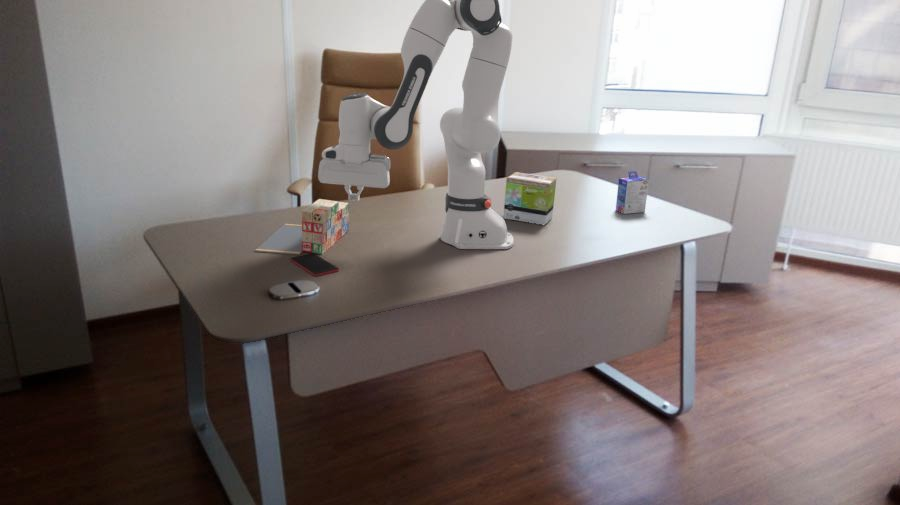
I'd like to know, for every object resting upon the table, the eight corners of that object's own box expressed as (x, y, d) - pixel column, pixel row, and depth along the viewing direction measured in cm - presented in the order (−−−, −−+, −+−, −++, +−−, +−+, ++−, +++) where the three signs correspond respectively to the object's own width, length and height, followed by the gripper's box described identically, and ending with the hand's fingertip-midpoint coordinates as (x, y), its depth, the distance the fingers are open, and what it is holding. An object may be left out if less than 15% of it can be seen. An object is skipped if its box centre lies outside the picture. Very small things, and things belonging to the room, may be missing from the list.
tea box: (502, 219, 220) (505, 177, 215) (511, 212, 229) (514, 171, 224) (545, 226, 215) (549, 182, 210) (553, 218, 224) (557, 176, 219)
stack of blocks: (329, 228, 203) (330, 190, 199) (348, 231, 202) (350, 193, 198) (301, 251, 183) (301, 209, 179) (322, 254, 182) (323, 212, 178)
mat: (325, 227, 205) (325, 226, 204) (299, 255, 181) (299, 253, 181) (285, 224, 206) (284, 223, 206) (254, 251, 182) (254, 250, 182)
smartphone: (312, 252, 182) (340, 269, 171) (313, 255, 182) (340, 272, 172) (288, 258, 178) (315, 275, 167) (288, 261, 178) (315, 278, 167)
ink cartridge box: (635, 208, 240) (641, 169, 235) (645, 212, 235) (651, 173, 230) (614, 210, 236) (619, 171, 231) (623, 214, 232) (629, 174, 227)
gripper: (392, 153, 185) (391, 200, 189) (322, 147, 186) (323, 194, 191) (388, 157, 179) (387, 206, 183) (316, 151, 180) (316, 199, 185)
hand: (353, 200), depth 187 cm, fingers closed
